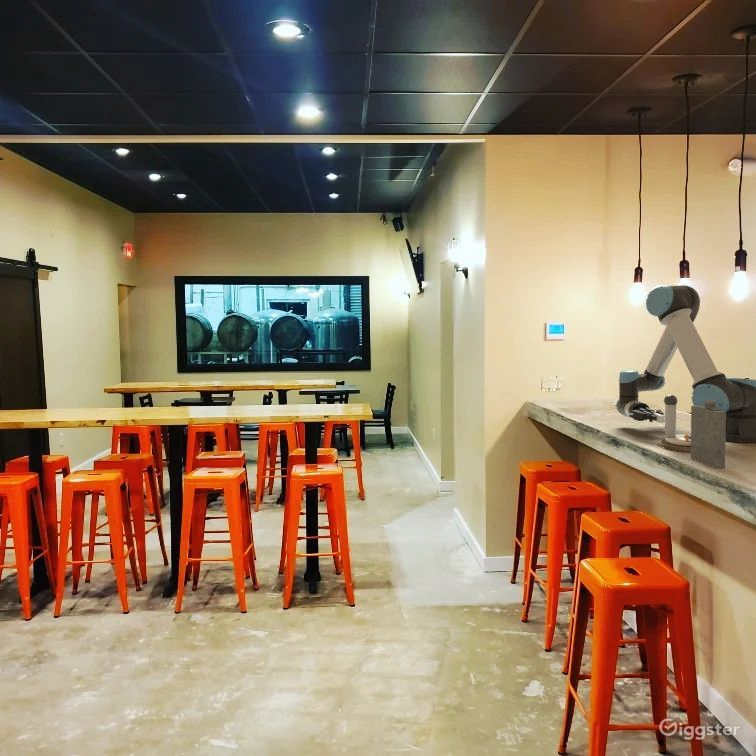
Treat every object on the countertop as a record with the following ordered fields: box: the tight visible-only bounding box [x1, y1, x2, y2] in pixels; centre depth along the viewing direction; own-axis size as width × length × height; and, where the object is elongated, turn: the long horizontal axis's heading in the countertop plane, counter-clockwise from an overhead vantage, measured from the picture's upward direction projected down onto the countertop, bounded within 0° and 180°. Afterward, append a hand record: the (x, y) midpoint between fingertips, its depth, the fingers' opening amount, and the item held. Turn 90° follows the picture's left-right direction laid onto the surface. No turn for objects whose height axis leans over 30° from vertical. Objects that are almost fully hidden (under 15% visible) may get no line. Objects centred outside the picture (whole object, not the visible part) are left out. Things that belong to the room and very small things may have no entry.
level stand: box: [660, 439, 691, 453], centre depth 224 cm, size 18×18×5 cm
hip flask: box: [690, 401, 726, 469], centre depth 199 cm, size 16×4×20 cm, turn 3°
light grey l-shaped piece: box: [663, 394, 691, 446], centre depth 223 cm, size 16×15×17 cm
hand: (662, 419), depth 231 cm, fingers closed
